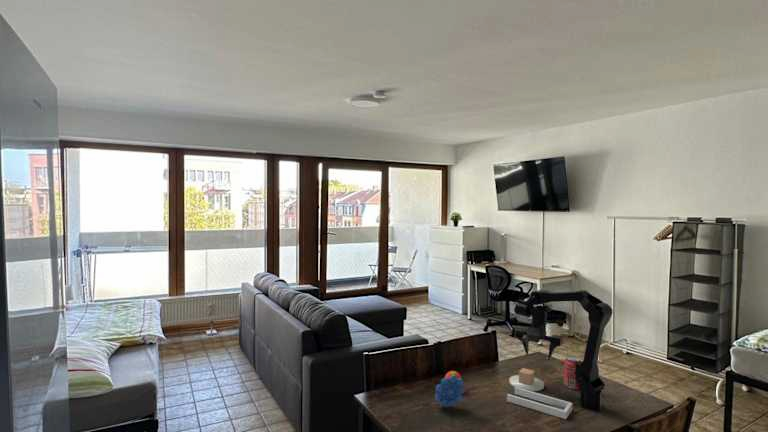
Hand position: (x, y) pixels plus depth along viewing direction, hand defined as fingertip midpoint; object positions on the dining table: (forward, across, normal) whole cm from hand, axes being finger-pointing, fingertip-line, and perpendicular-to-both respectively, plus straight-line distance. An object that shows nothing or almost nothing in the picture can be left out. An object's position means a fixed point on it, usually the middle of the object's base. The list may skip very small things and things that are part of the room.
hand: (538, 356), depth 175 cm
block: (+11, -4, -2) cm, 12 cm away
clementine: (+12, -26, -26) cm, 39 cm away
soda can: (+12, +12, +8) cm, 19 cm away
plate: (+12, -4, -2) cm, 13 cm away
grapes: (+12, -20, -40) cm, 46 cm away
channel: (+12, +6, -18) cm, 22 cm away
